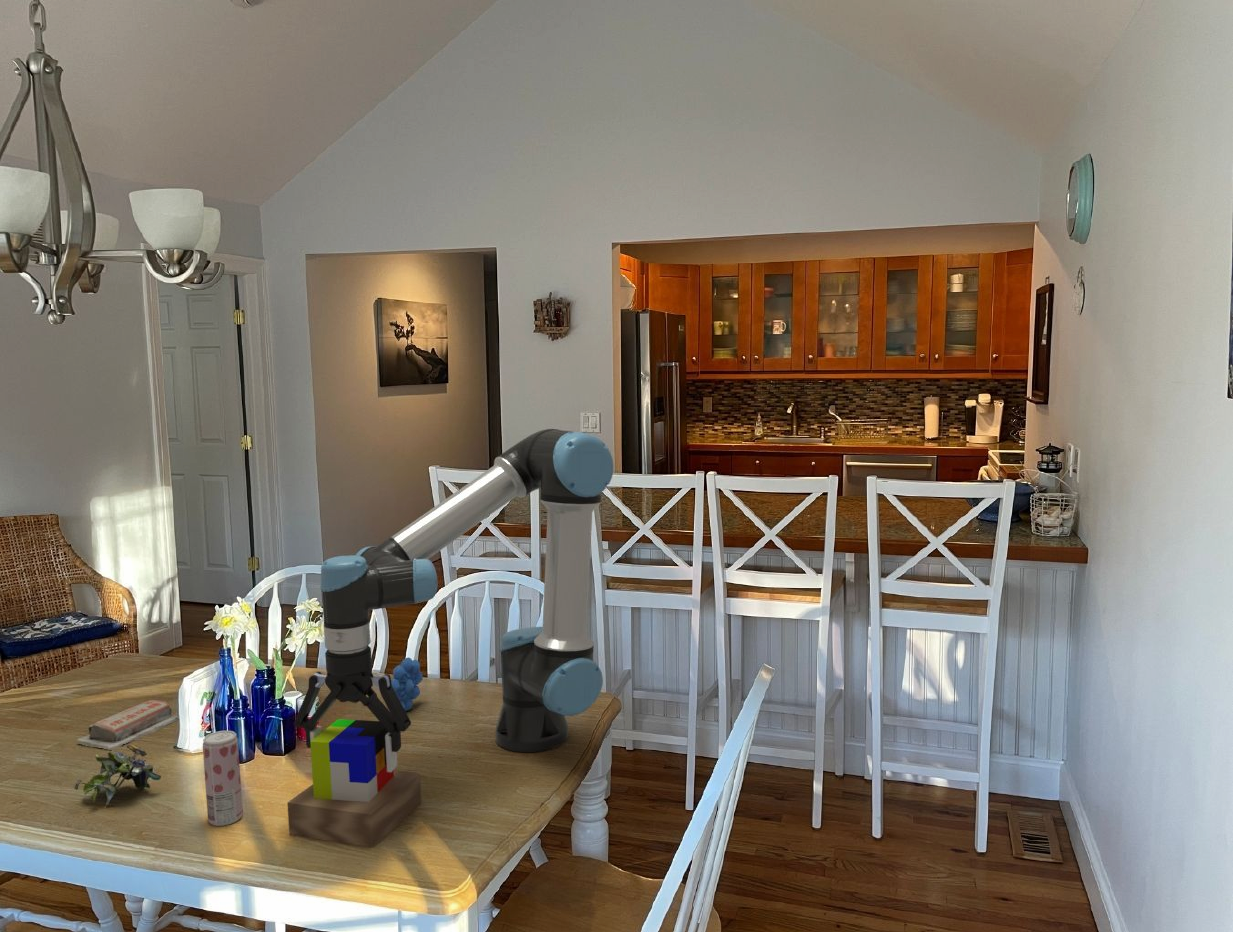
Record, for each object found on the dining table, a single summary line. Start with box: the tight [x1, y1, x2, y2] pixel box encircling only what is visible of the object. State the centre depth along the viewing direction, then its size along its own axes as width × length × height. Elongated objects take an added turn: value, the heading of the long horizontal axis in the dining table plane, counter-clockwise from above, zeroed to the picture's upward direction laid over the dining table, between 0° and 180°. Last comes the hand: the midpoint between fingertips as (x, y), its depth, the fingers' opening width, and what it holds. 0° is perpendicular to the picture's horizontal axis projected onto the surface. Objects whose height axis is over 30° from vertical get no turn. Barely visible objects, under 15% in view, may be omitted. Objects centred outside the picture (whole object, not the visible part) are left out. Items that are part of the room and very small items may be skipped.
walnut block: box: [287, 769, 422, 848], centre depth 165 cm, size 16×16×6 cm
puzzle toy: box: [310, 718, 395, 802], centre depth 164 cm, size 10×10×10 cm
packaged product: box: [76, 699, 179, 750], centre depth 206 cm, size 18×5×10 cm
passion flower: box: [74, 744, 162, 808], centre depth 174 cm, size 11×11×12 cm
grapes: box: [391, 657, 424, 712], centre depth 214 cm, size 12×7×12 cm, turn 155°
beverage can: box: [202, 730, 244, 827], centre depth 165 cm, size 6×6×15 cm
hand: (354, 766), depth 164 cm, fingers open, 13 cm apart
